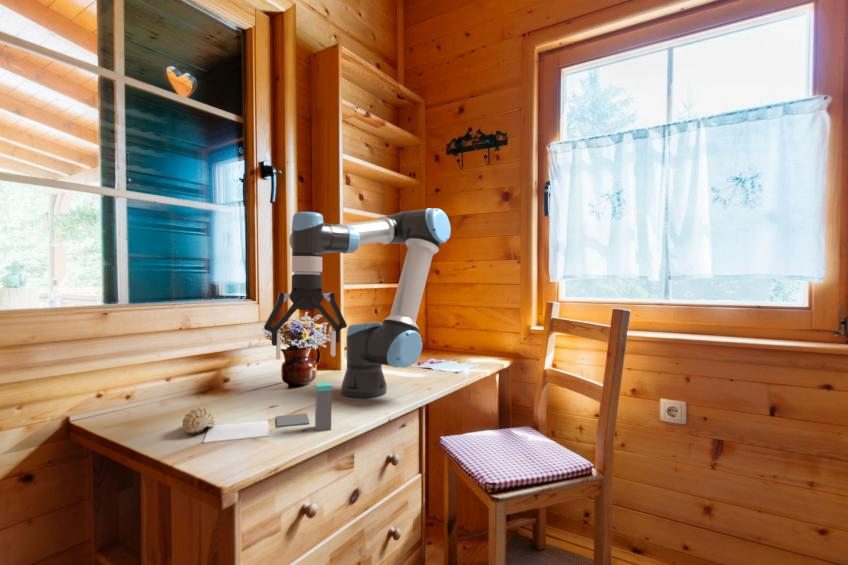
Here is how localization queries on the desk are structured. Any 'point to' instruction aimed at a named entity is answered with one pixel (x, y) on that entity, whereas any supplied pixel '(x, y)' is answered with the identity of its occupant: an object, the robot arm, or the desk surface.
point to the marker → (323, 406)
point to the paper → (237, 431)
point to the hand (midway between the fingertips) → (306, 357)
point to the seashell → (197, 421)
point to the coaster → (292, 420)
